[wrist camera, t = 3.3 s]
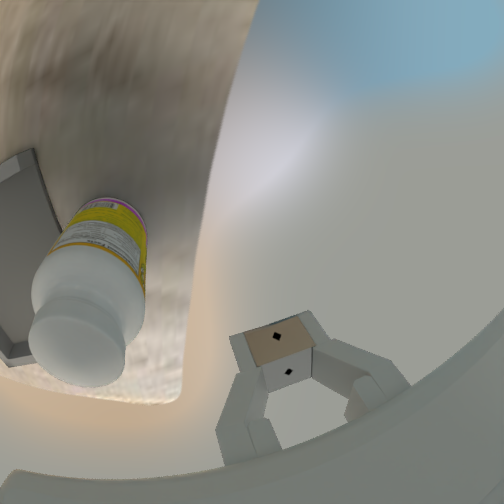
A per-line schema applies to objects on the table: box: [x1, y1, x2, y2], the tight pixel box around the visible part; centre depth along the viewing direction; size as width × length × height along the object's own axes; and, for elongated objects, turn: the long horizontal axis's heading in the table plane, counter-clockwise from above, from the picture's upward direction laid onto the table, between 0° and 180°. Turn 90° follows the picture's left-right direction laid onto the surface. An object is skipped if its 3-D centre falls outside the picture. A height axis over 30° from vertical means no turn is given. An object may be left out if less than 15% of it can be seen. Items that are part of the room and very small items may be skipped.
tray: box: [0, 148, 62, 367], centre depth 17 cm, size 15×18×3 cm
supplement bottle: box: [28, 197, 147, 388], centre depth 14 cm, size 7×7×13 cm
